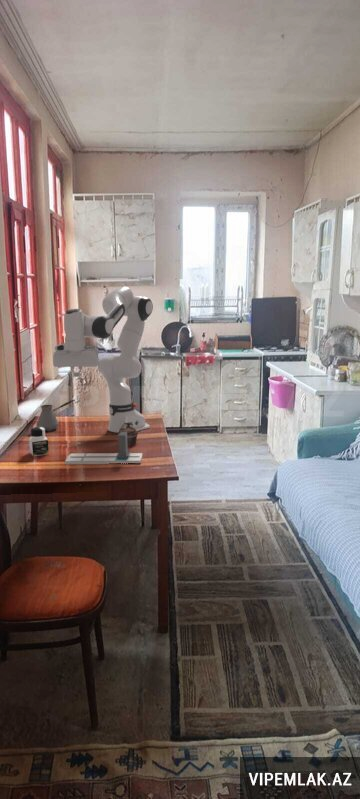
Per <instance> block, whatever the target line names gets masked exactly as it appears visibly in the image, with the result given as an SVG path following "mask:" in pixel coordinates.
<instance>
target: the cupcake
mask: <svg viewBox="0 0 360 799" xmlns="http://www.w3.org/2000/svg"><path fill="white" fill-rule="evenodd" d="M120 432H127V445H128V447H129V446H134V445H137V441H138V434H139V433H138V432H139V431H137V430H136V428H135V426H134V424H133V422H130V423H123V424H122V427H121V428H120V429H119V433H120ZM119 433H117V436H118V435H119Z"/></svg>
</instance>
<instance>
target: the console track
mask: <svg viewBox="0 0 360 799" xmlns="http://www.w3.org/2000/svg"><path fill="white" fill-rule="evenodd" d="M117 454H118V452H115V453H114V452H113V453H105V452H102V453H99V452H98V453H97V452H96V453H93V452H92V453H91V452H90V453H87V452H86V453H83V452H82V453H70V454H69V455H68V456H67V457H66V459H65V461H64V464H65V465H110V464H109V463H121V464H120V465H129V464H128V463H142V461H141V460H143V457H144V456H143V455H144V454H143V452H137V453H136V452H133V453H131V452H130V455H129V458H117ZM122 463H123V464H122ZM124 463H125V464H124ZM126 463H127V464H126Z"/></svg>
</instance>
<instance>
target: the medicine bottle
mask: <svg viewBox="0 0 360 799" xmlns="http://www.w3.org/2000/svg"><path fill="white" fill-rule="evenodd" d="M28 444H29V453H30V455H31V456H32V457H38V456H39V457H40V456H47V455H50V450H49V449H50V448H49V439H48V438H47V437H46V431H45V429H44V428H43V427H37V426H35V427H33V428H31V429H30V437H28Z"/></svg>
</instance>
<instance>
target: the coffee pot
mask: <svg viewBox="0 0 360 799" xmlns="http://www.w3.org/2000/svg"><path fill="white" fill-rule="evenodd" d="M72 402H74V403H77V401H76V400H75V399H72V400H69V401H67V402H64V403H63V404H62V405H59V406H57V407H56V408H54V409H53V407H54V404H43V405H40V408H41V412H40V415H39V418H38V420H37V423H36V427H43V428H44V429H45V432H51V431H55V430H56V429H57V428H58V427H59V425H60V422H59V420H58V419H57V416H56V415H55V413H54V412H55V411H57V410H59V409H61V408H63V407H66V406H68V405H69V404H71V403H72Z"/></svg>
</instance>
